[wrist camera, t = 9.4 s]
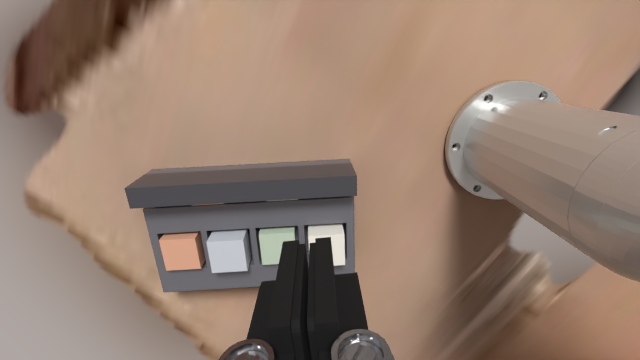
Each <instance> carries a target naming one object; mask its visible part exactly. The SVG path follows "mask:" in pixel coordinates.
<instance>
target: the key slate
mask: <svg viewBox="0 0 640 360" xmlns="http://www.w3.org/2000/svg"><path fill="white" fill-rule="evenodd" d="M206 243H207V249H208V254H209V259H210V265H211V270H212V273H222V272H238V271H248V267H249V264H250V260H251V252H250V245H249V237H248V230H247V229H230V230H213V231H212V233H211V235H210V236H209V238H208V240H207V242H206Z"/></svg>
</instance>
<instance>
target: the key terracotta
mask: <svg viewBox="0 0 640 360" xmlns="http://www.w3.org/2000/svg"><path fill="white" fill-rule="evenodd" d="M159 243H160V247H161V251H162V256H163V260H164V264H165V268H166V271H171V270H187V269H201V268H202V266H203V264H204V262H205V260H206V258H205V253H204V248H203V242H202V237H201V232H200V231H196V232H178V233H165V234H164V235H163V236H162V237H161V238H160V240H159Z"/></svg>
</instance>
